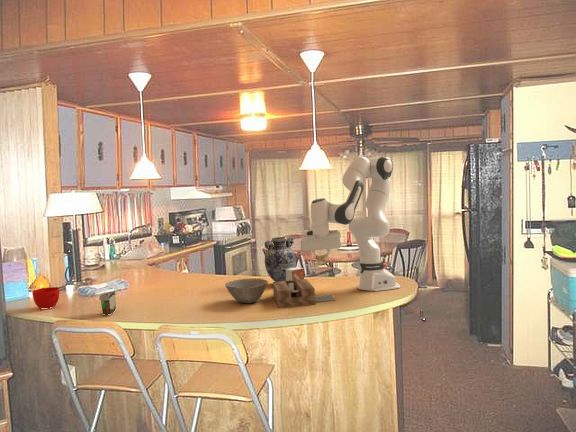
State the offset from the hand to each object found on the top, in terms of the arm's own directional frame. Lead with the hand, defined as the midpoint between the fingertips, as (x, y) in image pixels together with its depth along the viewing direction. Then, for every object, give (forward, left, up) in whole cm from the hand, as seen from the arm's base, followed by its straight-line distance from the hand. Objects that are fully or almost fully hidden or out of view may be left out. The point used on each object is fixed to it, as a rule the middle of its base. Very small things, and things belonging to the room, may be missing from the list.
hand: (321, 258), depth 250 cm
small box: (+11, -22, -21) cm, 32 cm away
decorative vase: (+16, -45, -21) cm, 52 cm away
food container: (+108, -9, -21) cm, 110 cm away
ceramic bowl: (+38, -9, -21) cm, 44 cm away
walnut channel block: (+15, -3, -21) cm, 26 cm away
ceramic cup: (+143, -33, -21) cm, 148 cm away
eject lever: (+15, -3, -17) cm, 23 cm away
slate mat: (0, 0, -21) cm, 21 cm away
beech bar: (0, +1, -3) cm, 3 cm away
